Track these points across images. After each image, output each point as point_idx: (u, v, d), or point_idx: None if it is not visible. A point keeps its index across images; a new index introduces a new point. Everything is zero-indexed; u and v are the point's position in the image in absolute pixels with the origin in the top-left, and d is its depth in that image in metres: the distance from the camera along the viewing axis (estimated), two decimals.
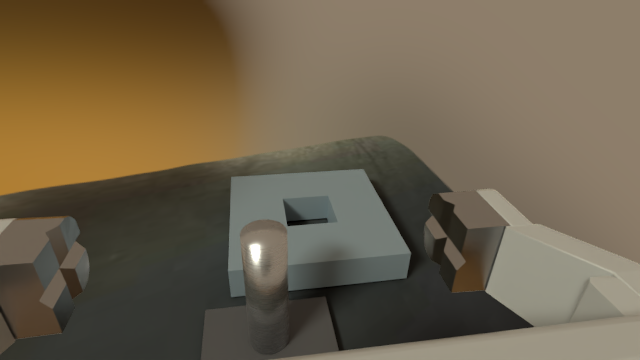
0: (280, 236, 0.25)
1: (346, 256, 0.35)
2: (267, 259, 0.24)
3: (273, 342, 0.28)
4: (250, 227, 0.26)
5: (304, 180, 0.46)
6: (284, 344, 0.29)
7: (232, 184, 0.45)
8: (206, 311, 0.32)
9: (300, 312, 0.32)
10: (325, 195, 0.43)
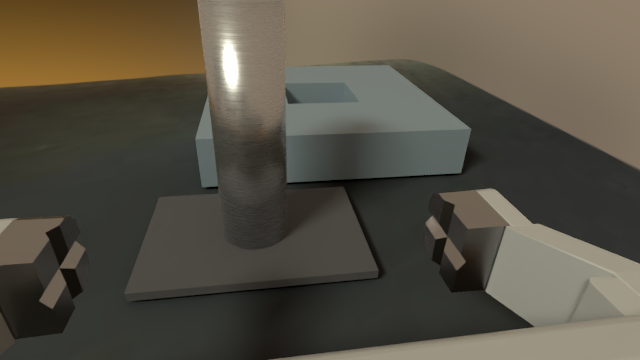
0: None
1: (375, 130, 0.23)
2: (245, 32, 0.13)
3: (260, 224, 0.17)
4: None
5: (311, 71, 0.35)
6: (279, 234, 0.18)
7: None
8: (160, 198, 0.21)
9: (305, 202, 0.21)
10: (340, 82, 0.32)
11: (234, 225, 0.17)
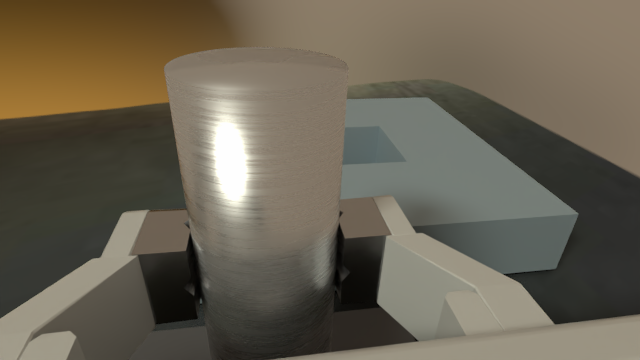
0: (322, 71, 0.06)
1: (443, 218, 0.16)
2: (270, 152, 0.06)
3: None
4: (212, 55, 0.07)
5: None
6: None
7: None
8: None
9: (348, 343, 0.14)
10: (374, 126, 0.25)
11: None
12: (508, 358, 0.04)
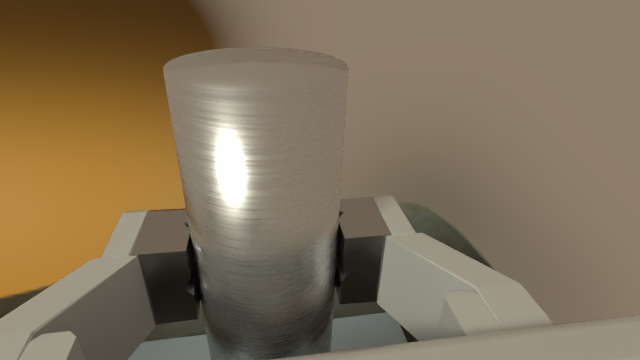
0: (322, 72, 0.06)
1: None
2: (270, 153, 0.06)
3: None
4: (211, 55, 0.07)
5: None
6: None
7: None
8: None
9: None
10: None
11: None
12: (508, 358, 0.04)
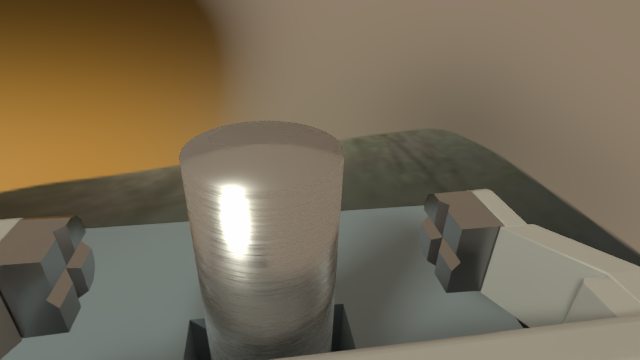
0: (320, 159, 0.07)
1: None
2: (274, 238, 0.07)
3: None
4: (221, 136, 0.08)
5: None
6: None
7: None
8: None
9: None
10: (334, 302, 0.13)
11: None
12: (508, 358, 0.04)
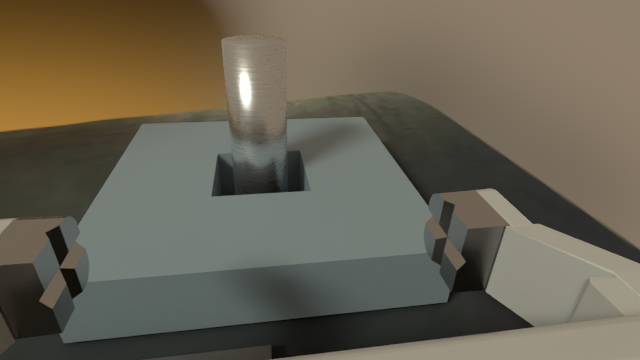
0: (275, 42, 0.18)
1: (320, 255, 0.16)
2: (257, 67, 0.18)
3: None
4: (236, 37, 0.19)
5: None
6: None
7: (138, 133, 0.26)
8: None
9: None
10: (295, 150, 0.25)
11: None
12: (508, 358, 0.04)
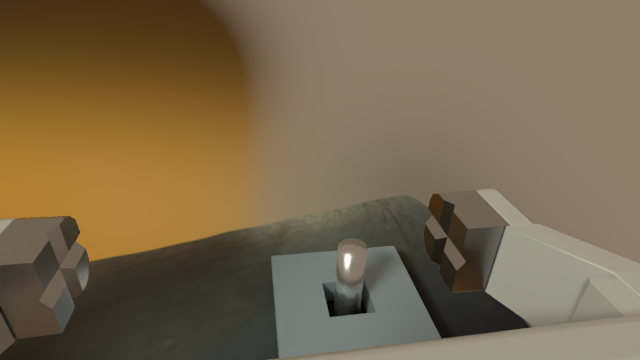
0: (363, 250, 0.40)
1: None
2: (356, 264, 0.39)
3: None
4: (343, 243, 0.41)
5: None
6: None
7: (273, 265, 0.48)
8: None
9: None
10: None
11: None
12: (508, 358, 0.04)
